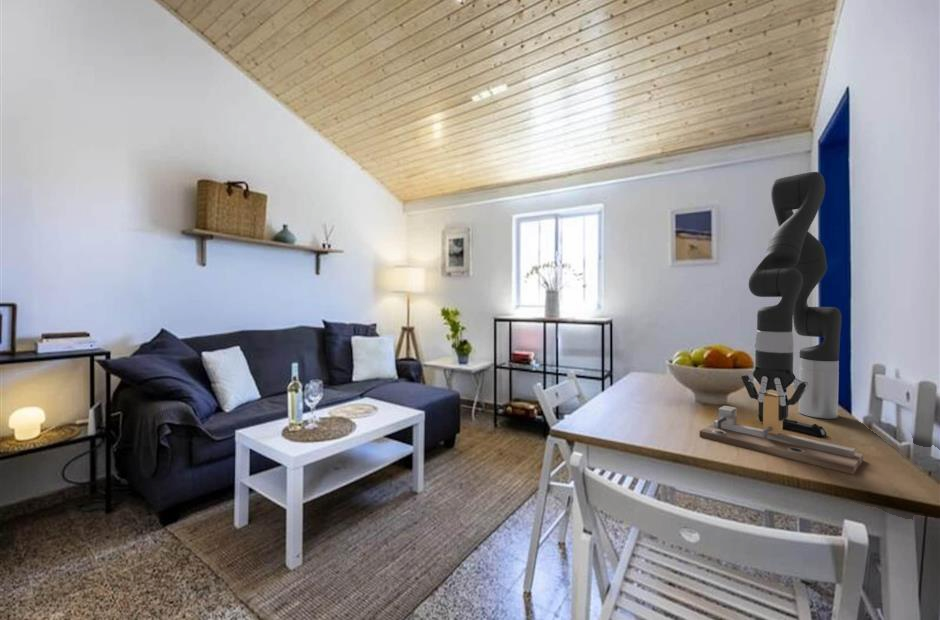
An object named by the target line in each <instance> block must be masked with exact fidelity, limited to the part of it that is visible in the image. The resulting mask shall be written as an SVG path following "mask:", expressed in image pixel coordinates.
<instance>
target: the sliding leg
mask: <svg viewBox="0 0 940 620" xmlns="http://www.w3.org/2000/svg"><path fill="white" fill-rule="evenodd" d="M779 405H780V402H779V397H778V395H777V393H770V392H768V394H766V395H764V396H763V422H762V429H763V432H764V439H767V433H772V434H777V435H778V434H779V433H783V430H784V429H783V421H780V420H779Z"/></svg>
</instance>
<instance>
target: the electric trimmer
mask: <svg viewBox="0 0 940 620" xmlns="http://www.w3.org/2000/svg"><path fill="white" fill-rule="evenodd" d="M758 420H759V422H760V423H763V417H761V414H759V413H758ZM783 430H791V431H795V432H796V431H797V432H801V433H805V434H808V435H813V436H815V437H817V438H825V437H827V432H826V430H825V429H824V427H823V426H821V425H820V426H819V425H818V424H817V423H814V424H809V423H804V422H799V421H797V420H792V419H788V418H786V419H785V420H784V421H783Z"/></svg>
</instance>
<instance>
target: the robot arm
mask: <svg viewBox="0 0 940 620" xmlns="http://www.w3.org/2000/svg"><path fill="white" fill-rule="evenodd" d="M825 193H826V182H825V178H824V176H823V174H822V173H820V172H818V171H811V172H804V173H800V174H799V173H798V174H794V175H790V176H789V175H788V176H784V177H780V178H777V179H775V180H773V182H772V184H771V189H770V197H771V202H772V207H773V210H774V214H775V218H776V221H777V224H778V225H777V226H778V227H777V229H776V230H775V231H774V232H773V233H772V235H771V236H770V238H769V241H768V244H767V245H768V246H767V248H766V252H765V255H764V256H763V257H762V259H761V260H760V262H759V263H758V264H757V265H756V267H755V268H754V270H752V272H751V274H750V276H749V279H748V289H749V291H750V293H751V294H752V295H754V296H755V297H759V298H760V297H761V298H781V299H780V301H779V302H778V303H777V304H775V305H769V306H764V307H760V308H758V310H757V315H756V317H757V318H756V335H755V344H754V348H755V353H754V354H755V355H754V356H755V361H754V364H755V365H754V368H755V369H754V371H753V372H752V373H750V374H743V375H741V381H742V383H743V384H744V387H745V389H746V391H747V393H748V396H749V398H751V399H754V400H756V401H757V402H758V414H761V417H763V396H764V395H766V394H768V393H770V391H771V390H772V391H775V392H776V394H777V395H778V397H779V402H780V405H779V420H780V421H784V420H785V419H788V416H789V406H794V405H796V404H797V403H798V413H799V414H801V415H805V416H808V417H813V418H818V419H827V420H828V419H830V420H831V419H838V417H839V416H838V415H839V379H840V378H839V377H840V376H839V375H840V373H839V372H840V371H839V369H840V365H839V364H840V361H839V360H840V344H841V343H840V341H841V332H842V331H841V329H842V313H841V310H840V309H839V308H837V307H834V306H809V305H808V299H809V296H810V295H811V294H812V292H813V291H814V289H815V288H816V286H817V285H818V284H819V282H821V280H822V279H823V277H824V276H825V274H826V272H827V270H828V264H827V258H826V249H825V247H824V245H823V244H822V242H821V241H820V240H819V239H818V238H816V237H815V236H814V235H813V234H812V233H810V231H809V230H810V228H811V225H812V223H813V222H814V220H815V217H816V216H817V215H818V211H819V210H820V207H821V205H822V204H823V201H824V198H825ZM794 210H796V211H795V212H794ZM793 327H794V331H795V332H796V334H797V335H798V336H802V337H813V338H814V337H815V338H823V341H822V342H821V343H819V344H817V345H813V346H807V347H803V348H801V349H800V351H799V366H798V367H799V368H798V369H799V370H798V371H799V372H798V374H799V375H798V377H799V378H796V375H795V374H794V336H793ZM755 380H756V382H757V383H758V384H759V390H758V391H757V388H756V386H755V384H754V382H755ZM792 384H794V386H793V387H794V389H795V391H794V393H793V394H792V395H791V398H789V396H788V395H789V394H788V393H789V392H788V387H790V386H791V385H792Z"/></svg>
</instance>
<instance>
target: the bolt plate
mask: <svg viewBox="0 0 940 620" xmlns="http://www.w3.org/2000/svg"><path fill="white" fill-rule="evenodd" d="M737 414H738V407H733V406H728V405H723V406H721V407H718V419H716V420H714V421H713V423H712V424H710V425H708V426H706V427H704V428H702V429H701V430H700V429H699V437H700V438H705V439H709V440H713V441H717V442H722V443H726V444H730V445H733V446H738V447H742V448H745V449H750V450H753V451H757V452H761V453H765V454H770V455H774V456H778V457H781V458H785V459H790V460H794V461H797V462H802V463H806V464H810V465H814V466H819V467H822V468H826V469H831V470H834V471H838V472H843V473H847V474H850V475H855V473H856V471H857V470H858V468H859V467H860V465H861V464H862V463H863V461H864V453H860V452H857V451H856V448H853V447H850V446H849V447H848V446H844V445H839V444H833V443H830V442H825V441H822V440H821V441H820V440H816V439H812V438H811V439H810V438H806V437H801V436H796V435H792V434H788V433H787V434H786V433H783V432H781V433H779V434H778V435H777V434H772V433H767V439H764V432H763V428H757V427H753V426H749V425H744V424H738V423H737V421H738V418H737V417H738V415H737Z"/></svg>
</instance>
